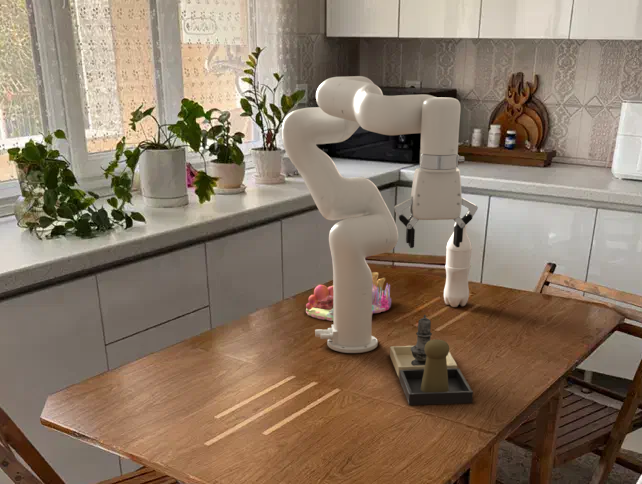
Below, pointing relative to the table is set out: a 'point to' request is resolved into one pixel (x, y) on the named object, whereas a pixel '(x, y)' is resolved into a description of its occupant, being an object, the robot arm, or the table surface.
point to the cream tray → (411, 359)
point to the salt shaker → (421, 341)
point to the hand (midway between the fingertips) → (433, 246)
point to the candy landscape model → (323, 299)
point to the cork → (435, 367)
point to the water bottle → (457, 271)
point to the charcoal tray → (416, 396)
